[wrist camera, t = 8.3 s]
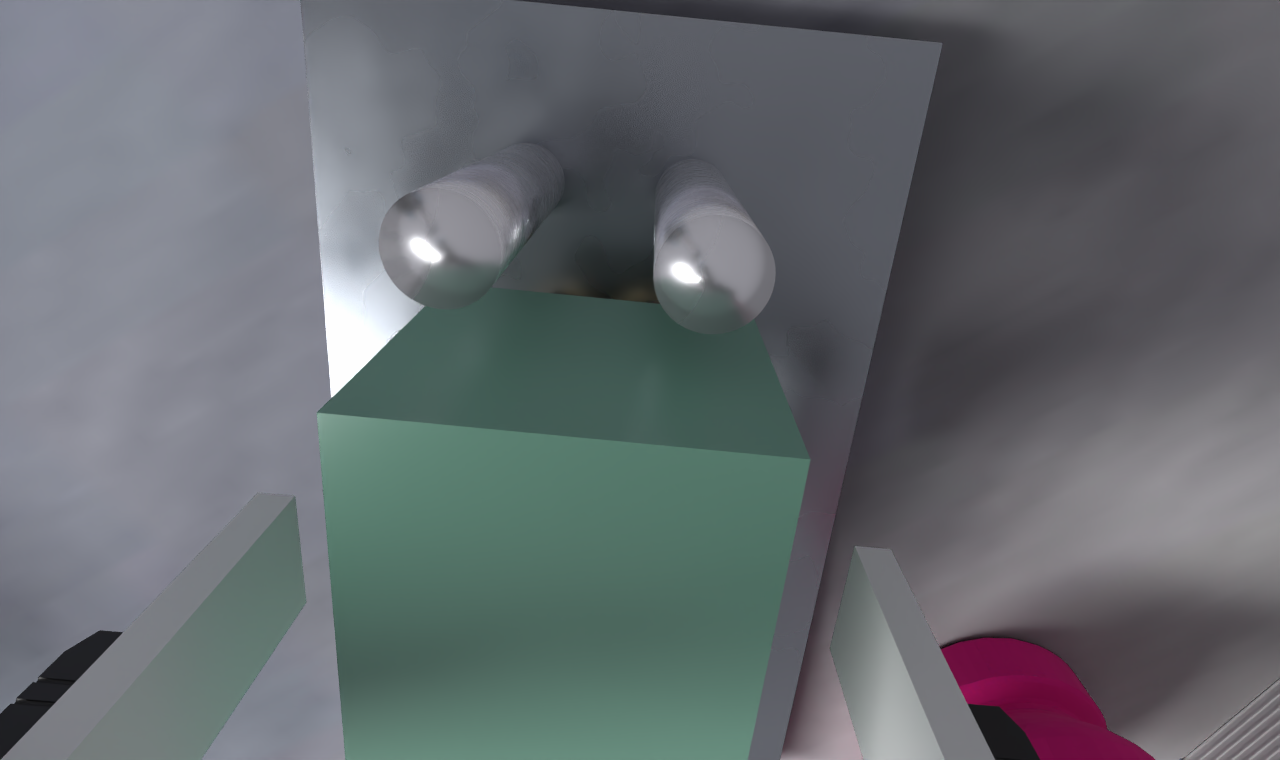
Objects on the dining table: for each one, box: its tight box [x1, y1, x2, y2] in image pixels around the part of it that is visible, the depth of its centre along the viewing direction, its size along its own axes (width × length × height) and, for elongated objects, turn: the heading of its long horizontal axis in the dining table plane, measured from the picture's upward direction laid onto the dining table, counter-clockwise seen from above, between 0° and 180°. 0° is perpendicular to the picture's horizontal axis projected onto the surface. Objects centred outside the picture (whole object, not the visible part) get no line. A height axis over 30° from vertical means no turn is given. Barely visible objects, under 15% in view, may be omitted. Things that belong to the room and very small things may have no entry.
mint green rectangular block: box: [317, 287, 811, 760], centre depth 14 cm, size 12×6×6 cm, turn 175°
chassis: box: [300, 0, 943, 760], centre depth 16 cm, size 22×13×8 cm, turn 175°
